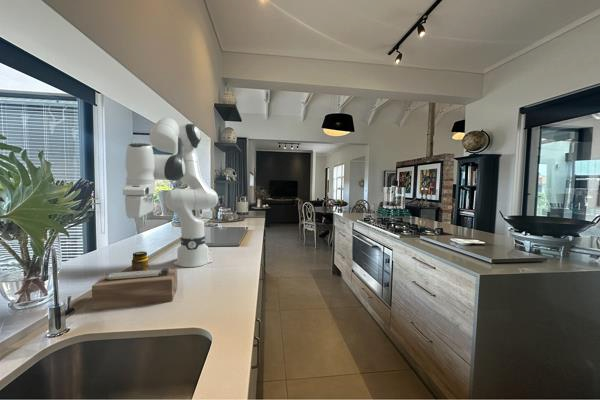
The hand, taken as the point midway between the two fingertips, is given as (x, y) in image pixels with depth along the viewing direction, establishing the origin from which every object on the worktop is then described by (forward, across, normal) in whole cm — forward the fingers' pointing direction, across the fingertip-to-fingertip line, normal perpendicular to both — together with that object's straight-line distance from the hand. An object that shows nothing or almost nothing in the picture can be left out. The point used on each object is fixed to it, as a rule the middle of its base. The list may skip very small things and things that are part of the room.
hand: (142, 227), depth 96 cm
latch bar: (+18, 0, -3) cm, 18 cm away
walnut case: (+26, 0, -1) cm, 26 cm away
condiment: (+27, -18, -6) cm, 33 cm away
